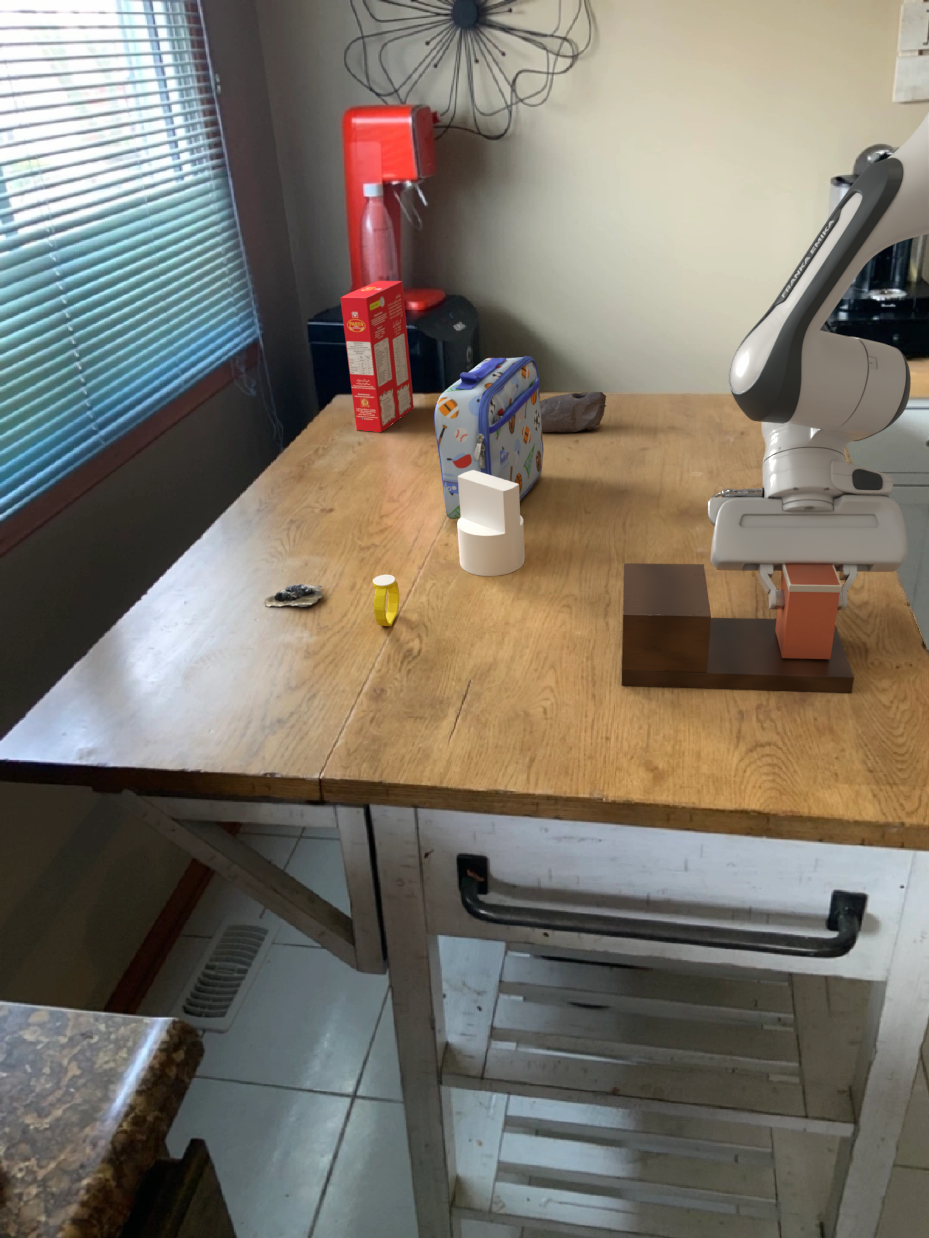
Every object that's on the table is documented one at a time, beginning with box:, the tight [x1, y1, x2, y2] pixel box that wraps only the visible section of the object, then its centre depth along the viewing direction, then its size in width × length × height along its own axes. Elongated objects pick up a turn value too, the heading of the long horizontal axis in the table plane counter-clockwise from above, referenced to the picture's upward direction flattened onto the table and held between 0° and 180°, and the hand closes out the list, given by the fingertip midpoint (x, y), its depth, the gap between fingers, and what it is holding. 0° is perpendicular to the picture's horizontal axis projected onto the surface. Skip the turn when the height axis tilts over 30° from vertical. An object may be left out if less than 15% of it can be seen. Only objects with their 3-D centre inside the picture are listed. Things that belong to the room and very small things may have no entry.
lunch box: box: [433, 355, 544, 520], centre depth 147 cm, size 28×10×22 cm, turn 161°
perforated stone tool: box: [540, 391, 607, 433], centre depth 178 cm, size 15×5×7 cm, turn 87°
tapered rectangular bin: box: [775, 564, 843, 659], centre depth 105 cm, size 5×6×9 cm
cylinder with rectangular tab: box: [456, 470, 526, 577], centre depth 132 cm, size 9×9×12 cm
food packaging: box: [340, 280, 415, 433], centre depth 186 cm, size 15×5×25 cm, turn 157°
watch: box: [372, 574, 400, 627], centre depth 120 cm, size 6×3×6 cm, turn 167°
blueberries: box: [263, 583, 324, 608], centre depth 128 cm, size 7×8×2 cm
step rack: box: [620, 562, 855, 694], centre depth 107 cm, size 24×12×9 cm, turn 81°
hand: (808, 608), depth 104 cm, fingers closed on tapered rectangular bin, 5 cm apart
